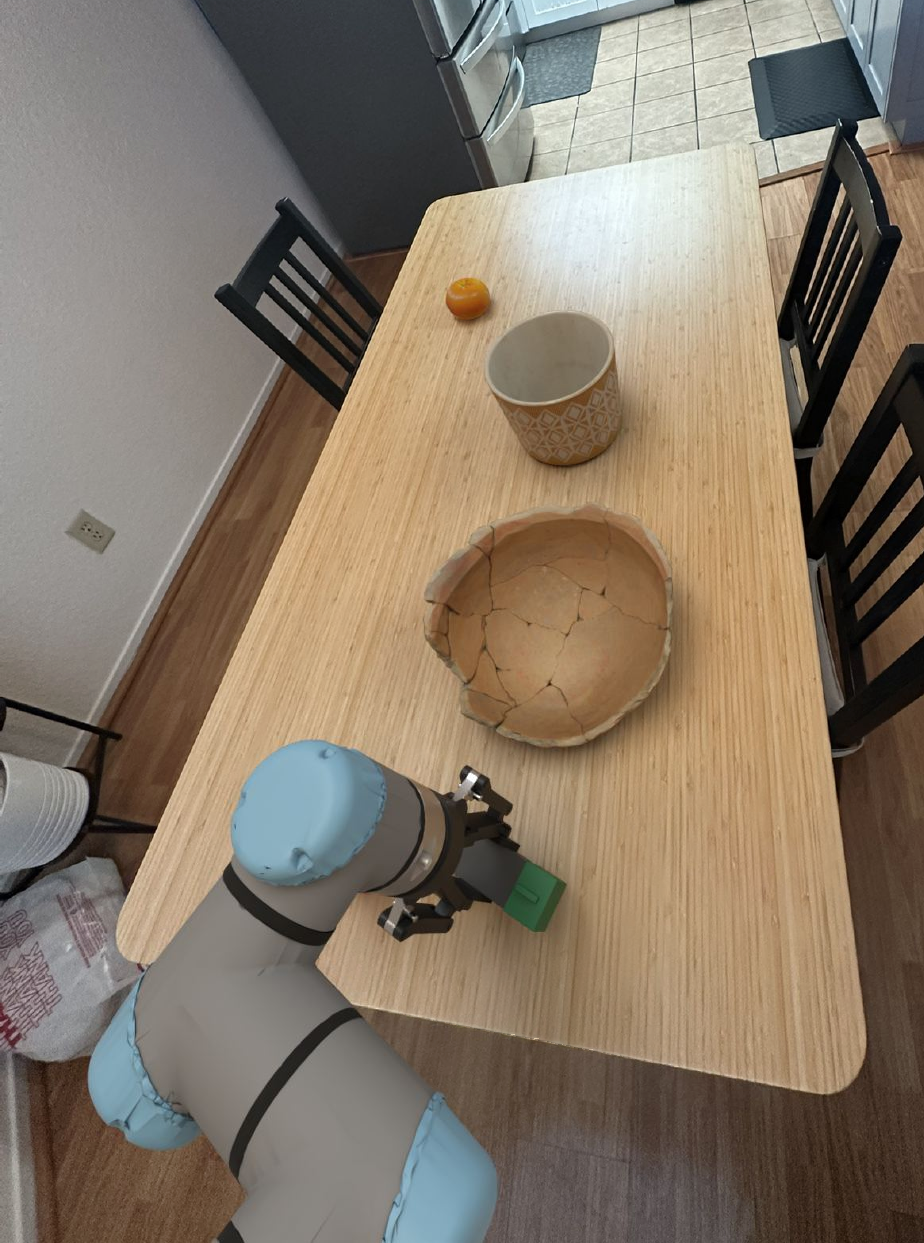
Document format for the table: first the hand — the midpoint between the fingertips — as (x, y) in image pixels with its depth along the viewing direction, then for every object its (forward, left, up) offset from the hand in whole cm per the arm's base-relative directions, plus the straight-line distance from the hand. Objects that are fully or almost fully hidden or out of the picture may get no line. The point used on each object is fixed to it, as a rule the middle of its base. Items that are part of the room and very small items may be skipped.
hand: (495, 866), depth 66 cm
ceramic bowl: (+26, +7, -5) cm, 27 cm away
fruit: (+78, +58, -5) cm, 97 cm away
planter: (+58, +24, -5) cm, 63 cm away
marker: (0, 0, 0) cm, 0 cm away
